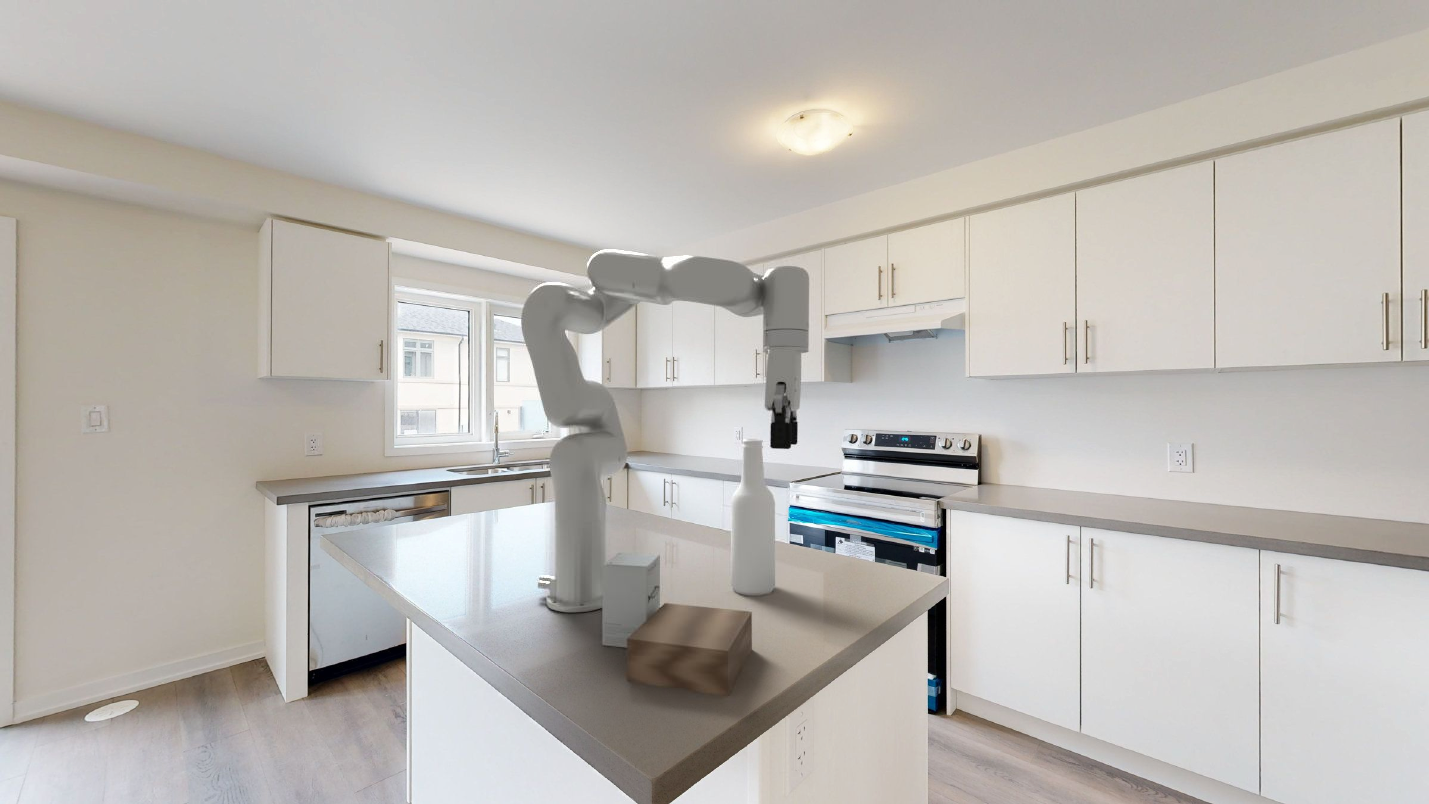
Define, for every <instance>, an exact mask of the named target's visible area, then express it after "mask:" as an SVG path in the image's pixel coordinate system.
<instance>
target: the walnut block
mask: <svg viewBox="0 0 1429 804" xmlns="http://www.w3.org/2000/svg"><path fill="white" fill-rule="evenodd" d="M752 613H753V611H749V610H740V609H738V610H736V609H728V608H719V607H718V608H717V607H710V606H709V607H708V606H698V605H688V604H678V603H669V602H665V603H663V604H662V605H660V608H659V609H658V610H657V611H656V612H655V613H654V614H653V615H652V616H651V617H650V618H648V619H647V620H646V621H645V622H644V623H643V624H642V625H641V626H640V627H639V628H638V629H637V630H636V631H635V632H633V633H632V634H631V635H630V636H629V637H628V638H627V648H626V681H627V682H630V683H631V682H632V683H638V684H646V685H652V686H659V687H666V688H670V689H671V688H673V689H680V690H686V691H692V692H693V691H694V692H700V693H707V694H711V695H712V694H714V695H719V696H727V697H728V696H729V695H730V693H731V692H732V689H733V687H734V685H735V684H736V682H737V680H738V677H739V676H740V674H741V671H742V670H743V668H744V667H745V666H744V665H745V664H746V662H747V660H748V658H749V656H750V654H751V652H752V650H753V633H752V632H753V630H752V629H753V623H752V621H753V616H752V615H753V614H752Z"/></svg>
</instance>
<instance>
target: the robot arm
mask: <svg viewBox="0 0 1429 804" xmlns="http://www.w3.org/2000/svg"><path fill="white" fill-rule="evenodd" d="M586 274H587V275H586V276H587V279H588V282H589V283H590V285H591V286H592V289H591V290H589V291H587V290H585V289H581V288H579V287H576V286H574V285H570V284H567V283H561V282H557V281H555V282H553V281H552V282H551V281H550V282H545V283H542V284H540V285H538V286H537V287H535V288H534V289H533V290H532V291H531V292H530V294H529V295H528V297H526V299H525V302H524V304H523V307H522V312H521V317H520V318H521V319H520V321H521V323H520V324H521V325H520V326H521V332H522V337H523V340H524V344H525V345H526V350H527V352H528V354H529V357H530V361H531V365H532V367H533V373H534V377H535V380H536V384H537V388H538V392H539V396H540V401H541V404H542V408H543V411H544V414H545V417H546V419H547V421H548V422H549V423H550V424H551V425H552V426H555V427H557V428H560V429H578V432H577V433H573V434H572V433H571V434H569V435H568V434H567V436H564V437H561V439H559V440H558V441H557V442H556V443H555V444H554V446H553V447H552V449H551V451H550V455H549V471H550V477H551V481H552V487H553V497H554V499H553V500H554V576H553V575H548V574H541V575H540V576H539V578H538V583H537V588H538V589H542V590H543V589H544V590H545V589H547V590H548V591H549V594H548V595H547V596H546V599H545V600H546V601H545V602H546V606H547V607H548V608H549V609H551V610H554V611H555V612H561V613H582V612H583V613H584V612H591V611H595V610H599V609H602V607H603V564H605V563H606V562H608V540H607V539H608V530H607V529H608V523H607V522H608V517H607V510H608V509H607V507H608V506H607V500H606V499H607V498H606V496H605V495H606V494H605V491H604V488H603V485H602V484H603V483H602V481H601V480H605V479H609V478H612V477H614V476H617V475H618V474H619V473H620V472H621V471H623V469H624V467H626V463H627V459H628V447H627V441H626V438H625V435H624V432H623V431H624V430H623V428H622V423H621V420H620V417H619V413H618V410H617V409H618V408H617V406H616V402H615V399H614V397H613V395H612V394H611V392H610V391H609V390H608V388H607V387H605V385H603V384H602V383H600V382H598V381H594V380H588V379H585V377H584V375H583V372H582V370H581V366H580V363H579V358H578V355H577V352H576V350H575V348H574V346H573V344H572V343H571V341H570V340H569V338H568V336H567V334H566V331H568V332H573V333H577V334H582V335H591V334H596V333H600V332H601V331H603V330H604V329H606V328H607V327H609V326H610V325H611V324H612V323H614V322H616V321H617V320H618V319H620V318H621V317H622V316H624V315H625V314H627V313H628V312H629V311H631V310H633V308H634V307H636V306H638V305H639V304H640V303H641V302H644V303H650V304H655V305H656V304H657V305H661V306H669V305H671V304H672V303H673V302H676V301H677V302H678V301H681V302H690V303H696V304H702V305H703V304H704V305H709V306H715V307H720V308H722V309H725V310H727V311H729V312H730V313H732V314H734V315H736V316H737V317H742V318H752V317H758V316H763V319H762V325H763V326H762V331H763V333H762V352H763V353H766V354H767V358H766V369H765V388H764V389H765V390H764V409H765V410H766V411H767V412H768V411H769V412H770V411H771V419H770V421H771V423H770V431H769V432H770V433H769V435H770V437H769V441H770V444H769V447H770V449H777V450H778V449H781V450H790V449H791V447H792V445H793V446H794V445H795V446H796V445H798V429H799V428H798V427H799V426H798V421H797V420H798V413H797V411H798V410H799V409H800V406H801V405H800V404H801V395H802V394H801V393H802V391H801V389H802V354H805V353H809V352H810V351H809V350H810V349H809V345H810V344H809V343H810V342H809V340H810V338H809V337H810V334H809V333H810V332H809V329H810V327H809V326H810V324H809V323H810V322H809V321H810V276H809V272H808V271H807V270H806V269H805V268H803V267H799V266H796V265H795V266H793V265H783V266H782V265H781V266H775V267H771V268H769V269H768V270H767V271H766V273H765V274H764V275H761V274H758V273H755V272H753V271H752V270H751V269H750V268H749V267H747V266H746V265H745V264H742V263H740V262H737V261H733V260H728V259H721V258H716V257H715V258H714V257H707V256H699V255H677V256H666V255H665V256H663V255H657V254H651V253H650V254H649V253H642V252H641V253H640V252H636V251H628V250H622V249H621V250H620V249H611V248H610V249H603V250H600V251H598V252H595V253H594V254H592V256H591V257H590V259H589V261H588V262H587V266H586Z"/></svg>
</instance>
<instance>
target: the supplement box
mask: <svg viewBox="0 0 1429 804" xmlns="http://www.w3.org/2000/svg"><path fill="white" fill-rule="evenodd" d="M660 600H661V555H660V554H657V553H656V554H655V553H654V554H652V553H632V552H631V553H630V552H619V553H617V554H616V555H615V556H613V557H612V558H610V559H609V560H607V562H606V563H605V564H603V607H602V608H601V609H602V610H601V611H602V612H601V614H602V619H601V621H602V622H601V624H602V626H601V629H602V631H601V632H602V633H601V634H602V638H601V639H602V642H601V645H602V646H606V647H616V648H625V649H627V638H628V637H629V636H630V635H631V634H632V633H633V632H635V631H636V630H637V629H638V628H639V627H640V626H641V625H642V624H643V623H644V622H645V621H646V620H647V619H648V618H650V617H651V616H652V615H653V614H654V613H655V612H656V611H657V610H658V609H659V608H660V607H661V601H660Z"/></svg>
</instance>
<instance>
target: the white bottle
mask: <svg viewBox="0 0 1429 804" xmlns="http://www.w3.org/2000/svg"><path fill="white" fill-rule="evenodd" d="M763 442H764V441H763V439H761V438H760V439H759V438H744V439H743V440H742V443H743V445H742V449H743V451H742V463H741V466H742V467H741V477H740V478H741V479H740V483H739V486H738V487H737V488H736V490H734V493H733V494H732V497H731V501H730V572H731V573H730V576H731V577H730V584H731V585H730V586H731V587H732V589H733V591H734V592H736V593H737V594H739V595H743V596H750V597H751V596H752V597H754V596H755V597H759V596H766V595H768V594H771V593H772V592H773V591H774V589H775V587H776V502H775V498H774V495H773V492H771V490H770V489H769V488H768V486H767V484H766V481H765V471H764V470H765V469H764V458H763V456H764V455H763V448H764V446H763Z"/></svg>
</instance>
